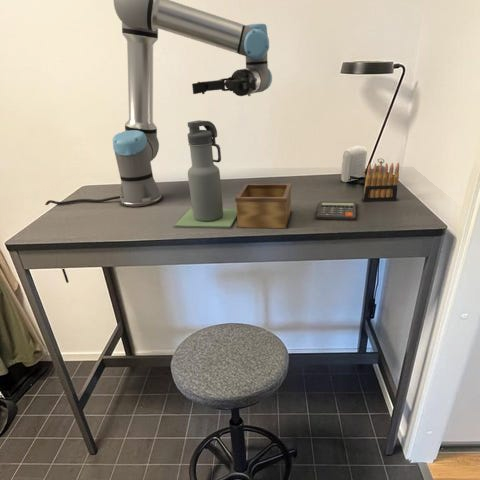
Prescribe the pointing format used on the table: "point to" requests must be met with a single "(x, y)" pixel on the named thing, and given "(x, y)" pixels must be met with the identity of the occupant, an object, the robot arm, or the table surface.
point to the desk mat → (222, 222)
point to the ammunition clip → (381, 184)
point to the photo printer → (353, 162)
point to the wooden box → (264, 205)
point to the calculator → (336, 210)
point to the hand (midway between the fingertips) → (213, 88)
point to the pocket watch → (378, 169)
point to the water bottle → (204, 172)
